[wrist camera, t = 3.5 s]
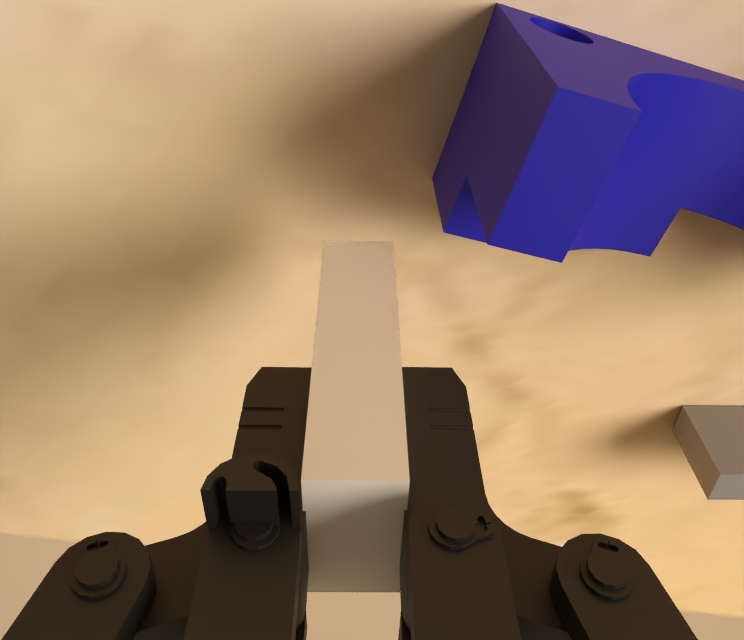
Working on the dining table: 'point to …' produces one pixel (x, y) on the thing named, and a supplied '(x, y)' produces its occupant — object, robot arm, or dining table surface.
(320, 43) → the dining table surface
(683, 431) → the gray u-shaped frame
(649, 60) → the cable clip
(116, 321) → the dining table surface
